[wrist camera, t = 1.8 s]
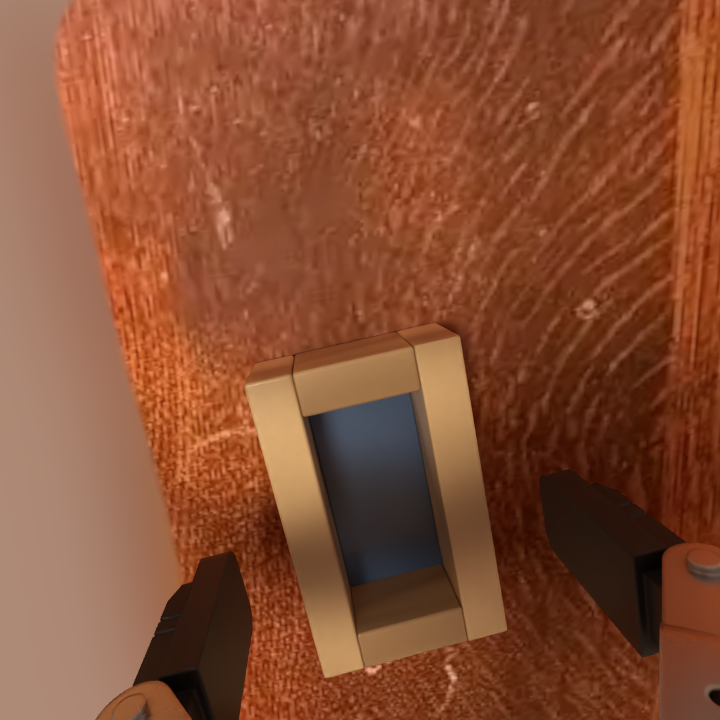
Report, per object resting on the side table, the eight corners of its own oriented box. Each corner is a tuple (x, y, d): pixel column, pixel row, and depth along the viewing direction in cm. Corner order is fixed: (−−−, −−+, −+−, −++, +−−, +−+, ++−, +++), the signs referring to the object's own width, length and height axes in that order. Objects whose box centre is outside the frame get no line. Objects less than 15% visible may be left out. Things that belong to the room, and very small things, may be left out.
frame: (253, 363, 14) (243, 384, 12) (435, 322, 14) (460, 335, 12) (322, 618, 16) (324, 680, 14) (479, 578, 16) (508, 631, 14)
